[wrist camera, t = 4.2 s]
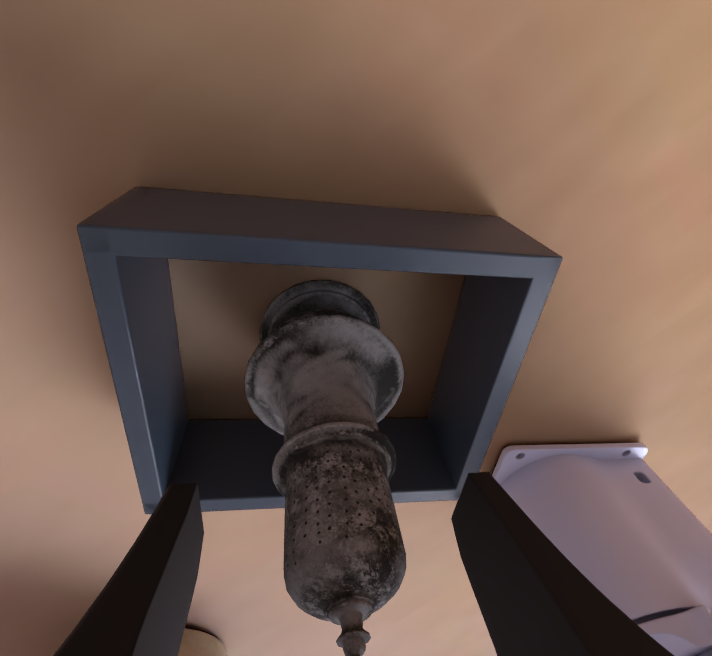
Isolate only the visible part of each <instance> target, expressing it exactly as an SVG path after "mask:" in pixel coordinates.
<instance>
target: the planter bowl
mask: <svg viewBox="0 0 712 656" xmlns="http://www.w3.org/2000/svg"><path fill="white" fill-rule="evenodd" d="M178 656H227V653H226V649H225V646H224V645H223V643H222V642H221V641H220V640H219V639H217V638H216V637H214V636H212V635H209V634H207V633H204V632H201V631H197V630H192V629H186V628H185V629H184V633H183V637H182V641H181V645H180V649H179V653H178Z"/></svg>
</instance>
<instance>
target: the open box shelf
mask: <svg viewBox="0 0 712 656" xmlns="http://www.w3.org/2000/svg"><path fill="white" fill-rule="evenodd" d="M77 230H78V235H79V239H80V243H81V247H82V251H83V255H84V260H85V264H86V268H87V272H88V276H89V281H90V285H91V289H92V293H93V297H94V302H95V306H96V310H97V314H98V318H99V323H100V327H101V331H102V335H103V339H104V344H105V348H106V352H107V356H108V360H109V365H110V369H111V373H112V377H113V381H114V385H115V390H116V394H117V398H118V402H119V406H120V411H121V415H122V419H123V423H124V427H125V432H126V436H127V440H128V444H129V448H130V453H131V457H132V461H133V465H134V469H135V474H136V478H137V482H138V486H139V490H140V495H141V499H142V503H143V507H144V512H145V514H152V513H153V512H154V510H155V508H156V506H157V505H158V503H159V501H160V499H161V498H162V496H163V494H164V492H165V490H166V488H167V487H168V486H169V485H170V484H173V483H198V490H199V498H200V506H201V512H207V511H228V510H250V509H272V508H285V497H284V496H283V495H282V494H281V493H280V492H279V491H278V490H277V488H276V486H275V484H274V482H273V477H272V465H273V462H274V459H275V456H276V454H277V453H278V452H279V450H280V449H281V447H282V446H283V445H284V435H282V434H279V433H278V432H276V431H275V430H273V429H271V428H270V427H268V426H267V425H265V424H264V423H263V422H262V421H261V420H188V413H187V405H186V397H185V390H184V382H183V374H182V366H181V358H180V351H179V343H178V335H177V327H176V319H175V312H174V304H173V296H172V288H171V281H170V273H169V265H168V258H169V259H187V260H205V261H223V262H241V263H259V264H277V265H295V266H313V267H331V268H349V269H367V270H385V271H403V272H421V273H439V274H456V275H466V277H465V281H464V284H463V288H462V292H461V295H460V299H459V303H458V306H457V310H456V314H455V317H454V321H453V325H452V328H451V332H450V336H449V340H448V343H447V347H446V351H445V354H444V358H443V362H442V365H441V369H440V373H439V376H438V380H437V384H436V388H435V391H434V395H433V399H432V402H431V406H430V410H429V413H428V417H427V418H383V419H382V420H380V421H379V422H378V423H377V425H378V429H379V431H380V432H381V433H382V434H384V435H385V436H387V438H388V439H389V440H390V442H391V443H392V445H393V446H394V450H395V454H396V459H397V460H396V466H395V471H394V473H393V475H392V477H391V478H390V480H389V486H390V490H391V494H392V498H393V502H394V503H402V502H424V501H446V500H458V499H459V497H460V494H461V491H462V489H463V486H464V483H465V481H466V478H467V475H468V473H478V472H479V470H480V468H481V465H482V462H483V460H484V457H485V455H486V452H487V450H488V447H489V445H490V442H491V440H492V437H493V434H494V432H495V429H496V427H497V424H498V422H499V419H500V417H501V414H502V412H503V409H504V406H505V404H506V401H507V399H508V396H509V394H510V391H511V389H512V386H513V383H514V381H515V378H516V376H517V373H518V371H519V368H520V366H521V363H522V361H523V358H524V355H525V353H526V350H527V348H528V345H529V343H530V340H531V338H532V335H533V332H534V330H535V327H536V325H537V322H538V320H539V317H540V315H541V312H542V310H543V307H544V304H545V302H546V299H547V297H548V294H549V292H550V289H551V287H552V284H553V282H554V279H555V276H556V274H557V271H558V269H559V266H560V264H561V261H562V257H561V256H560V255H558V254H557V253H555V252H554V251H552V250H550V249H549V248H547V247H546V246H544V245H543V244H541V243H540V242H538V241H536V240H535V239H533V238H532V237H530V236H529V235H527V234H526V233H524V232H522V231H521V230H519V229H518V228H516V227H515V226H513V225H512V224H510V223H509V222H507V221H505V220H504V219H502V218H501V217H498V216H486V215H471V214H459V213H447V212H435V211H423V210H411V209H399V208H387V207H375V206H363V205H351V204H339V203H327V202H315V201H303V200H291V199H279V198H267V197H255V196H243V195H231V194H219V193H207V192H195V191H183V190H171V189H159V188H147V187H134V188H133V189H131V190H130V191H128V192H127V193H125V194H124V195H122V196H121V197H119V198H117V199H116V200H114V201H113V202H111V203H110V204H108V205H107V206H105V207H104V208H102V209H101V210H99V211H98V212H96V213H95V214H93V215H91V216H90V217H88V218H87V219H85V220H84V221H82V222H81V223H79V224H78V225H77Z"/></svg>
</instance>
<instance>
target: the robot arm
mask: <svg viewBox="0 0 712 656" xmlns="http://www.w3.org/2000/svg"><path fill="white" fill-rule="evenodd" d="M647 451H648V448H647V447H646V446H645V445H644V444H643V443H602V444H556V445H512V446H508V447H506V448H504V449H503V451H502V453H501V455H500V457H499V460H498V462H497V465H496V467H495V469H494V472H493V474H492V475H491V474H490V473H489V472H478V473H468V475H467V478H466V481H465V483H464V486H463V489H462V491H461V494H460V497H459V499H458V502H457V505H456V507H455V510H454V513H453V515H452V518H451V519H452V523H453V527H454V532H455V536H456V540H457V544H458V547H459V551H460V555H461V558H462V561H463V564H464V567H465V570H466V572H467V575H468V578H469V580H470V583H471V586H472V589H473V591H474V594H475V597H476V599H477V602H478V605H479V607H480V610H481V612H482V615H483V618H484V620H485V623H486V626H487V628H488V631H489V634H490V636H491V639H492V642H493V644H494V647H495V650H496V653H497V656H712V534H711V533H710V532H709V530H708V529H707V528H706V527H705V526H704V525H703V524H702V523H701V522H700V521H699V520H698V519H697V518H696V516H695V515H694V514H693V513H692V512H691V511H690V510H689V509H688V508H687V507H686V506H685V505H684V504H683V503H682V501H681V500H680V499H679V498H678V497H677V496H676V495H675V494H674V493H673V492H672V491H671V490H670V489H669V487H668V486H667V485H666V484H665V483H664V482H663V481H662V480H661V479H660V478H659V477H658V476H657V475H656V473H655V472H654V471H653V470H652V469H651V468H650V467H649V466H648V465H647V464H646V463H645V462H644V461H643V458H644V456H645V455H646V453H647ZM203 535H204V529H203V521H202V514H201V506H200V498H199V490H198V483H173V484H170V485H169V486H168V487H167V488H166V490H165V492H164V494H163V496H162V498H161V499H160V501H159V503H158V505H157V506H156V508H155V510H154V512H153V513H152V515H151V517H150V518H149V520H148V522H147V523H146V525H145V527H144V528H143V530H142V531H141V533H140V535H139V536H138V538H137V539H136V541H135V543H134V544H133V546H132V547H131V549H130V550H129V552H128V553H127V555H126V556H125V558H124V559H123V561H122V562H121V564H120V565H119V567H118V568H117V570H116V571H115V573H114V574H113V576H112V577H111V579H110V580H109V582H108V583H107V584H106V586H105V587H104V589H103V590H102V591H101V593H100V594H99V595H98V597H97V598H96V600H95V601H94V602H93V604H92V605H91V607H90V608H89V609H88V611H87V612H86V613H85V615H84V616H83V618H82V619H81V620H80V622H79V623H78V624H77V626H76V627H75V628H74V630H73V631H72V632H71V634H70V635H69V636H68V638H67V639H66V640H65V641H64V643H63V644H62V645H61V647H60V648H59V649H58V650H57V652H56V653H55V654H54V655H53V656H178V653H179V649H180V645H181V641H182V637H183V633H184V629H185V625H186V621H187V617H188V613H189V609H190V605H191V601H192V596H193V592H194V588H195V584H196V580H197V575H198V569H199V563H200V556H201V549H202V542H203Z"/></svg>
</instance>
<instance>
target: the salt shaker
mask: <svg viewBox="0 0 712 656" xmlns="http://www.w3.org/2000/svg"><path fill="white" fill-rule="evenodd" d="M260 341H261V343H260V344H259V345H258V347H257V348H256V350H255V351H254V353H253V355H252V356H251V358H250V360H249V361H248V365H247V370H246V374H245V379H244V383H245V392H246V398H247V400H248V402H249V404H250V406H251V408H252V410H253V412H254V413H255V414H256V415H257V416H258V418H259V419H260V420H261V421H262V422H263V423H264V424H265V425H267V426H268V427H270V428H271V429H273V430H275V431H276V432H278V433H279V434H282V435H284V445H283V446H282V447H281V449H280V450H279V452H278V453H277V454H276V456H275V459H274V462H273V465H272V477H273V482H274V484H275V486H276V488H277V490H278V491H279V492H280V493H281V494H282V495H283V496H284V497H285V530H284V579H285V584H286V589H287V591H288V593H289V595H290V596H291V598H292V599H293V601H294V602H295V603H296V605H297V606H298V607H299V608H300V609H301V610H303V611H304V612H306V613H308V614H310V615H312V616H314V617H316V618H318V619H321V620H325V621H331V622H333V623H334V624H337V625H341V628H342V633H341V635H340V636H339V638H338V639H337V641H336V643H337V645H338V646H339V647H342V648H343V651H344V654H345V656H362V655H363V654H364V652H365V649H366V645H365V644H366V643H367V642H368V641H369V640H370V639H371V637H370V634H369V633H368V632H367V631H365V630H364V629H363V621H364V620H366V619H367V618H369V617H370V615H371V614H372V613H373V612H375V611H377V610H379V609H380V608H381V607H382V606H383V605H385V604H386V603H387V602H388V601H389V600H390V599H391V598H392V597H393V596H394V595H395V594H396V592H397V591H398V589H399V587H400V585H401V583H402V580H403V578H404V575H405V571H406V553H405V549H404V544H403V540H402V536H401V532H400V528H399V523H398V519H397V515H396V511H395V507H394V502H393V498H392V494H391V490H390V486H389V480H390V478H391V477H392V475H393V473H394V471H395V466H396V460H397V459H396V454H395V450H394V446H393V445H392V443H391V442H390V440H389V439H388V438H387V436H385V435H384V434H382V433H381V432H380V431H379V429H378V425H377V423H378V422H379V421H380V420H382V419H383V418H384V417H385V416H386V415H387V413H388V412H389V411H390V410H391V409H392V408H393V406H394V405H395V403H396V401H397V399H398V397H399V395H400V393H401V391H402V385H403V378H404V370H403V365H402V360H401V356H400V354H399V353H398V351H397V349H396V347H395V346H394V344H393V342H392V341H391V340H390V339H389V338H388V337H387V336H386V335H385V334H384V333H382V332H381V331H380V326H379V322H378V317H377V314H376V312H375V310H374V308H373V306H372V305H371V303H370V301H369V300H367V299H366V298H365V297H364V296H363V295H362V294H361V293H360V292H359V291H357V290H355V289H353V288H352V287H350V286H348V285H346V284H342V283H338V282H334V281H330V280H322V281H309V282H305V283H301V284H297V285H295V286H293V287H291V288H289V289H287V290H286V291H284V292H282V293H281V294H280V295H279V296H278V297H277V298H276V299H274V300H273V301H272V302H271V303H270V305H269V307H268V308H267V310H266V312H265V313H264V315H263V318H262V323H261V327H260Z"/></svg>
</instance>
